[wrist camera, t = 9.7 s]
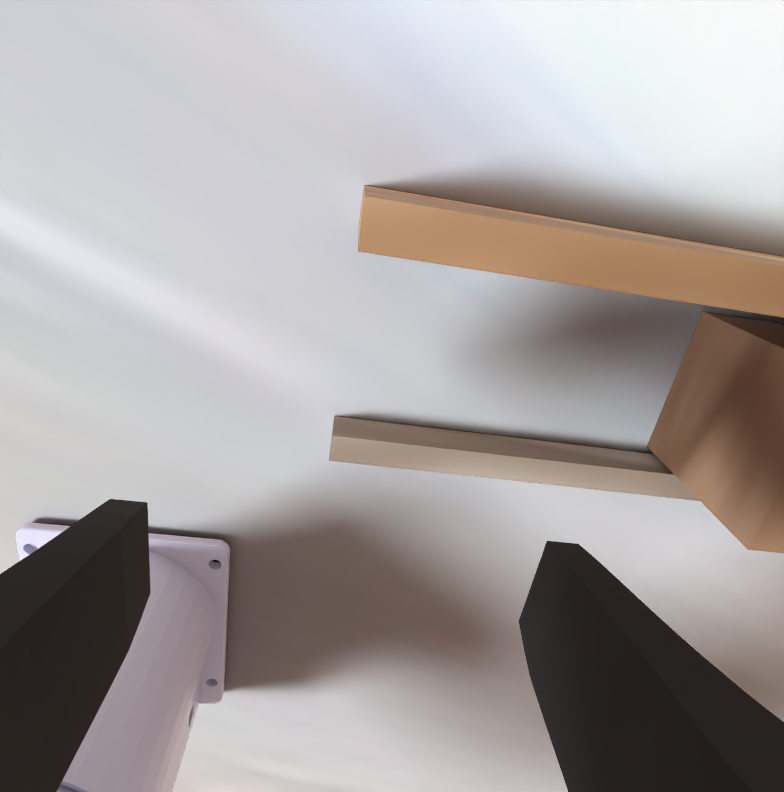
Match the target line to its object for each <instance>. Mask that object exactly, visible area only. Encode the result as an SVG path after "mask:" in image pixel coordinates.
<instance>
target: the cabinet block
mask: <svg viewBox="0 0 784 792" xmlns="http://www.w3.org/2000/svg"><path fill="white" fill-rule="evenodd" d="M647 447H648V448H649V449H650V450H651V451H652V452H653V453H654V454H655V455H656V456H657V457H658V458H659V459H660V460H661V461H662V462H663V463H664V464H665V465H666V466H667V467H668V469H669V470H670V471H671V472H672V473H673V474H674V475H675V476H676V477H677V478H678V479H679V480H680V481H681V482H682V483H683V484H684V485H685V486H686V487H687V488H688V489H689V490H690V491H691V492H692V493H693V494H694V495H695V496H696V497H697V498H698V499H699V500H700V501H701V502H702V503H703V504H704V505H705V506H706V507H707V508H708V509H709V510H710V511H711V512H712V513H713V514H714V515H715V516H716V517H717V518H718V519H719V520H720V522H721V523H722V524H723V525H724V526H725V527H726V528H727V529H728V530H729V531H730V532H731V533H732V534H733V535H734V536H735V537H736V538H737V539H738V540H739V541H740V542H741V543H742V544H743V545H744V546H745V547H746V548H747V549H748V550H757V551H767V552H777V553H784V324H778V323H772V322H765V321H759V320H752V319H746V318H740V317H733V316H727V315H720V314H714V313H707V312H702V314H701V317H700V319H699V321H698V324H697V326H696V329H695V331H694V334H693V336H692V338H691V341H690V343H689V346H688V348H687V351H686V353H685V355H684V358H683V360H682V363H681V365H680V367H679V370H678V372H677V375H676V377H675V380H674V382H673V384H672V387H671V389H670V392H669V394H668V397H667V399H666V401H665V404H664V406H663V409H662V411H661V414H660V416H659V418H658V421H657V423H656V426H655V428H654V431H653V433H652V435H651V438H650V440H649V443H648V445H647Z"/></svg>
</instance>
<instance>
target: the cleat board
mask: <svg viewBox="0 0 784 792" xmlns="http://www.w3.org/2000/svg"><path fill="white" fill-rule="evenodd" d="M358 251H359V252H365V253H371V254H378V255H384V256H391V257H397V258H404V259H410V260H417V261H423V262H429V263H436V264H442V265H449V266H455V267H462V268H468V269H475V270H481V271H487V272H494V273H500V274H507V275H513V276H520V277H526V278H533V279H539V280H545V281H552V282H558V283H565V284H571V285H578V286H584V287H591V288H597V289H604V290H610V291H616V292H623V293H629V294H636V295H642V296H649V297H655V298H662V299H668V300H674V301H681V302H687V303H694V304H700V305H707V306H713V307H720V308H726V309H732V310H739V311H745V312H752V313H758V314H765V315H771V316H778V317H784V257H783V256H777V255H771V254H765V253H759V252H753V251H748V250H742V249H736V248H730V247H724V246H718V245H712V244H706V243H700V242H695V241H689V240H683V239H677V238H671V237H665V236H659V235H653V234H647V233H642V232H636V231H630V230H624V229H618V228H612V227H606V226H600V225H594V224H589V223H583V222H577V221H571V220H565V219H559V218H553V217H547V216H541V215H536V214H530V213H524V212H518V211H512V210H506V209H500V208H494V207H488V206H482V205H477V204H471V203H465V202H459V201H453V200H447V199H441V198H435V197H429V196H424V195H418V194H412V193H406V192H400V191H394V190H388V189H382V188H376V187H371V186H365V185H364V190H363V198H362V205H361V213H360V221H359V235H358ZM329 461H337V462H347V463H356V464H365V465H374V466H383V467H393V468H402V469H411V470H420V471H429V472H439V473H448V474H457V475H466V476H475V477H485V478H494V479H503V480H512V481H521V482H530V483H540V484H549V485H558V486H567V487H576V488H586V489H595V490H604V491H613V492H622V493H632V494H641V495H650V496H659V497H668V498H678V499H687V500H696V501H700V500H699V499H698V498H697V497H696V496H695V495H694V494H693V493H692V492H691V491H690V490H689V489H688V488H687V487H686V486H685V485H684V484H683V483H682V482H681V481H680V480H679V479H678V478H677V477H676V476H675V475H674V474H673V473H672V472H671V471H670V470H669V469H668V467H667V466H666V465H665V464H664V463H663V462H662V461H661V460H660V459H659V458H658V457H657V456H656V455H655V454H650V453H641V452H633V451H625V450H616V449H608V448H599V447H591V446H582V445H574V444H566V443H557V442H549V441H540V440H532V439H523V438H515V437H507V436H498V435H490V434H481V433H473V432H464V431H456V430H447V429H439V428H431V427H422V426H414V425H405V424H397V423H388V422H380V421H372V420H363V419H355V418H346V417H338V416H334V423H333V431H332V439H331V448H330V457H329Z"/></svg>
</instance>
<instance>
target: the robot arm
mask: <svg viewBox="0 0 784 792" xmlns="http://www.w3.org/2000/svg"><path fill="white" fill-rule="evenodd" d="M16 541H17V547H18V553H19V559H20V561H19V562H18V563H16V564H15V565H13V566H12V567H10V568H9V569H7V570H6V571H4V572H3V573H1V574H0V792H172V790H173V787H174V784H175V780H176V777H177V774H178V770H179V767H180V764H181V760H182V757H183V754H184V750H185V747H186V744H187V740H188V737H189V734H190V730H191V727H192V724H193V720H194V717H195V714H196V710H197V707H198V704H199V703H205V704H215V703H218V702H220V701H221V700H222V697H223V693H224V679H225V656H226V633H227V610H228V586H229V563H230V548H229V545H228V544H227V543H226V542H224V541H222V540H218V539H208V538H197V537H186V536H175V535H164V534H152V533H148V508H147V503H146V502H135V501H125V500H114V499H110V500H108V501H107V502H105V503H104V504H102V505H101V506H99V507H98V508H96V509H95V510H93V511H92V512H90V513H89V514H88V515H86V516H85V517H83V518H82V519H80V520H79V521H77V522H76V523H75V524H73V525H72V526H63V525H52V524H41V523H27V524H24V525H23V526H22V527H21V528H20V529H19V530H18V531H17V533H16ZM31 544H33V545H34V546H36V547H33V546H32V545H31ZM212 560H219V561H220V562H221V563H216V562H213V561H212ZM519 624H520V629H521V635H522V640H523V645H524V651H525V655H526V660H527V664H528V669H529V673H530V677H531V681H532V684H533V687H534V690H535V693H536V696H537V699H538V702H539V705H540V708H541V711H542V714H543V717H544V720H545V724H546V726H547V729H548V732H549V735H550V738H551V741H552V744H553V747H554V750H555V753H556V756H557V759H558V762H559V765H560V768H561V771H562V774H563V777H564V780H565V783H566V786H567V789H568V792H784V722H783V721H781V720H780V719H779V718H777V717H776V716H775V715H773V714H772V713H771V712H770V711H768V710H767V709H766V708H764V707H763V706H762V705H761V704H759V703H758V702H757V701H756V700H754V699H753V698H752V697H751V696H749V695H748V694H747V693H746V692H744V691H743V690H742V689H741V688H740V687H738V686H737V685H736V684H735V683H734V682H732V681H731V680H730V679H729V678H728V677H726V676H725V675H724V674H723V673H722V672H721V671H719V670H718V669H717V668H716V667H715V666H713V665H712V664H711V663H710V662H709V661H707V660H706V659H705V658H704V657H703V656H702V655H700V654H699V653H698V652H697V651H696V650H695V649H694V648H692V647H691V646H690V645H689V644H688V643H687V642H686V641H684V640H683V639H682V638H681V637H680V636H679V635H678V634H677V633H676V632H674V631H673V630H672V629H671V628H670V627H669V626H668V625H667V624H666V623H664V622H663V621H662V620H661V619H660V618H659V617H658V616H657V615H656V614H655V613H654V612H652V611H651V610H650V609H649V608H648V607H647V606H646V605H645V604H644V603H643V602H642V601H641V600H639V599H638V598H637V597H636V596H635V595H634V594H633V593H632V592H631V591H630V590H629V589H628V588H627V587H625V586H624V585H623V584H622V583H621V582H620V581H619V580H618V579H617V578H616V577H615V576H614V575H613V574H612V573H610V572H609V571H608V570H607V569H606V568H605V567H604V566H603V565H602V564H601V563H600V562H598V561H597V560H596V559H595V558H594V557H593V556H592V555H591V554H589V553H588V552H587V551H586V550H585V549H583V548H582V547H581V546H580V545H579V544H573V543H563V542H552V541H547V543H546V545H545V548H544V551H543V554H542V557H541V560H540V562H539V565H538V568H537V571H536V574H535V577H534V580H533V582H532V585H531V588H530V591H529V594H528V597H527V599H526V602H525V605H524V608H523V611H522V614H521V617H520V619H519Z"/></svg>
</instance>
